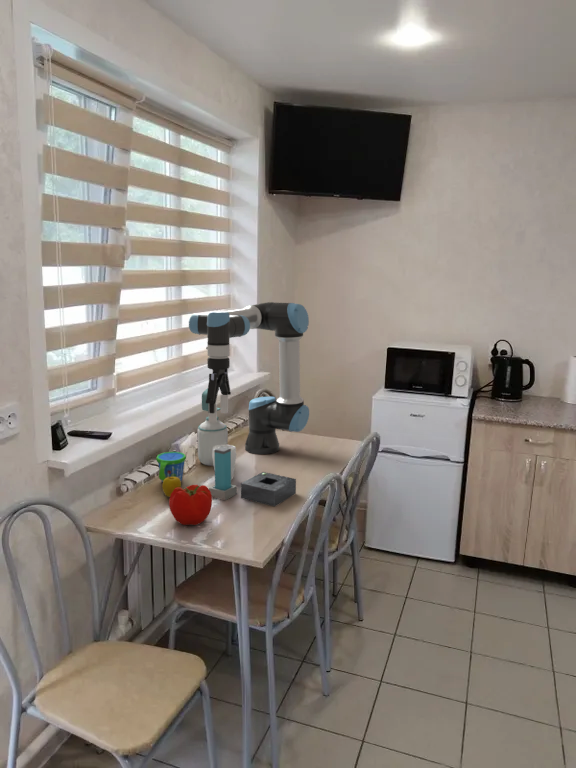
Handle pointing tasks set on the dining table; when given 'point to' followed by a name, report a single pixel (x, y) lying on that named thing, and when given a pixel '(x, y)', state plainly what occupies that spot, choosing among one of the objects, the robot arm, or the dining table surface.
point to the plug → (222, 468)
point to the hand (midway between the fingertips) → (218, 417)
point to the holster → (223, 492)
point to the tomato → (190, 504)
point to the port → (268, 488)
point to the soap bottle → (210, 435)
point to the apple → (170, 485)
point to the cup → (233, 456)
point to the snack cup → (171, 465)
